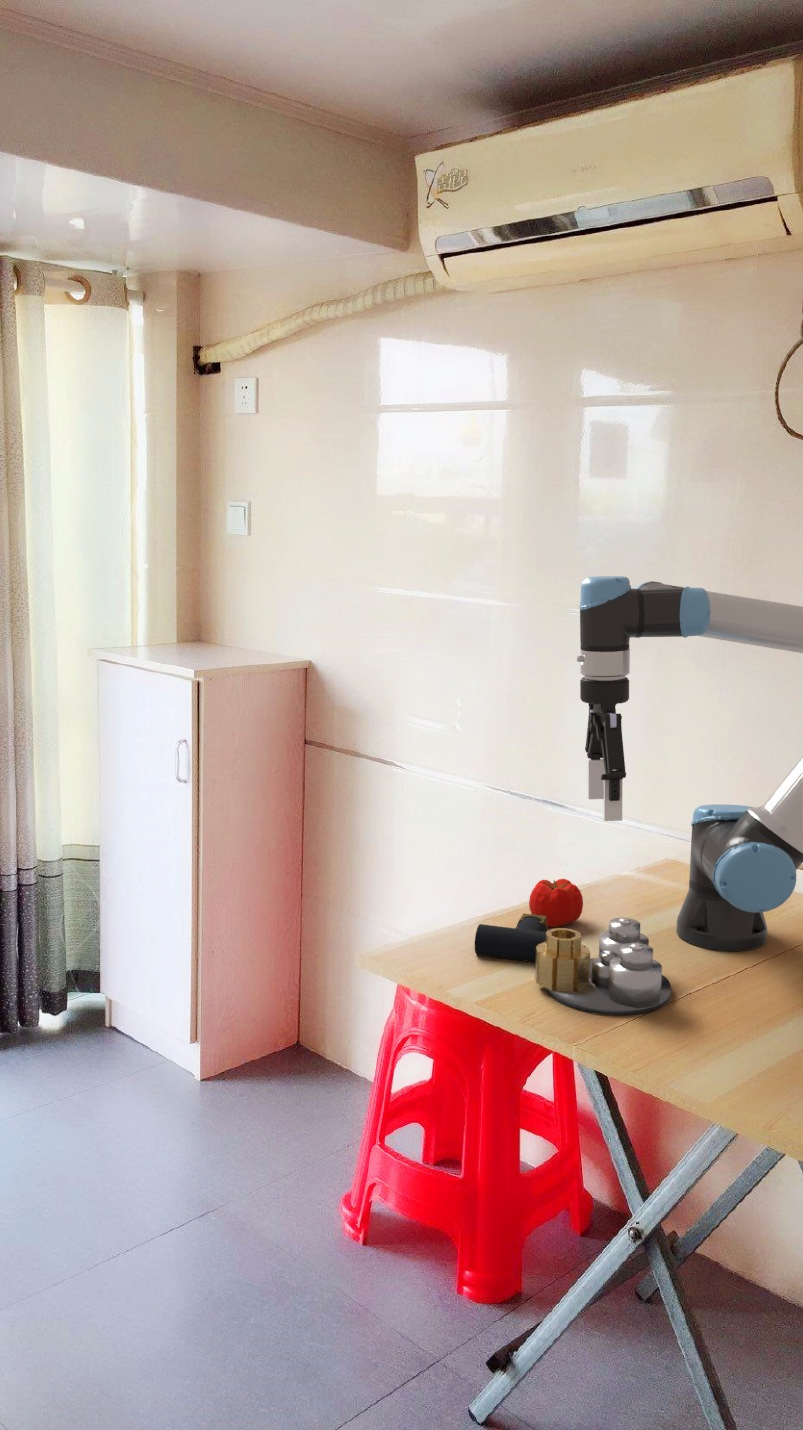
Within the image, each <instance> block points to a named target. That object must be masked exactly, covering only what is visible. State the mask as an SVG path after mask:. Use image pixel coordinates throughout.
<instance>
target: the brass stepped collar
mask: <svg viewBox="0 0 803 1430" xmlns="http://www.w3.org/2000/svg"><path fill="white" fill-rule="evenodd" d="M586 946H587V945H585V944H582V935H581V932H579V930H575V929H572V928H567V927H565V928H564V927H563V928H562V927H555V928H551V929H548V931H547V932H546V942H543V943H541V944H538V946H536V962H535V967H534V969H535V971H534V978H535V982H536V984H538V986H539V987H542V988H545V989H546V988H547V989H549V990H554V989H556V991H571V992H573V989H574V990H577V991H578V990H581V989H583V988H585V987H588V985H589V976H590V958H591V952H590V951H591V950H590V949H589V947H586Z"/></svg>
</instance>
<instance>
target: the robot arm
mask: <svg viewBox="0 0 803 1430" xmlns="http://www.w3.org/2000/svg"><path fill="white" fill-rule="evenodd" d="M630 581H631V580H630V579H629V578H628V577H627V576H624V575H623V576H619V575H618V576H615V575H609V576H606V575H601V576H599V575H598V576H590V577H587V578H585V579H583V581H582V582H581V585H580V586H581V587H580V601H579V603H580V604H579V607H578V608H579V632H580V633H579V635H580V636H579V638H580V639H579V640H580V641H579V643H580V654H581V655H578V656H576V661H577V663H580V674H581V675H582V676H583V677H581V679H579V680H580V681H579V682H580V683H579V685H580V686H579V687H580V688H579V689H580V692H579V693H580V695H579V698H580V700H581V702H583V703H585V704H588V719H587V720H588V721H587V728H586V741H585V747H584V750H585V753H586V756H587V757H586V758H587V799H588V800H603V821H604V822H615V821H616V822H617V821H618V822H619V821H620V822H621V821H622V822H623V779H625V778H626V777H627V772H626V764H625V753H624V751H625V750H624V741H623V730H622V729H623V728H622V719H623V716H622V713H617V709H616V705H617V704H624V703H627V702H628V701H629V700H630V679H629V678H628V677H626V676H627V675H629V674H630V673H631V672H630V669H631V668H630V665H631V663H630V660H631V658H630V655H631V653H630V652H631V649H630V639H631V638H672V637H673V638H674V637H675V638H679V637H680V638H681V637H682V638H685V639H686V638H688V637H696V636H697V637H701V638H709V639H715V640H720V641H726V642H734V643H739V644H745V645H750V646H757V647H763V648H768V649H769V648H770V649H775V650H781V651H788V652H791V653H792V652H793V653H798V654H803V606H802V605H795V604H790V603H783V602H777V601H770V600H764V599H759V598H752V597H746V596H739V595H734V594H727V593H721V592H716V591H711V590H710V591H709V590H706V589H704V588H702V587H690V586H685V587H684V586H679V585H678V586H677V585H672V584H671V585H670V584H665V583H663V582H660V581H659V582H658V581H648V582H643V583H641V584H639V585H638V586H636V587H635V588H632V585H630V584H631V583H630ZM690 824H691V839H690V840H691V842H690V859H689V860H690V861H689V880H688V881H689V883H688V890H687V893H686V895H685V898H684V901H683V903H682V906H681V907H680V911H679V913H678V915H677V919H676V928H675V929H676V930H675V932H676V934H677V936H678V937H679V938H681V939H682V940H684V941H685V942H687V943H689V944H691V945H694V946H697V947H701V948H705V949H709V950H710V949H711V950H716V951H726V952H738V951H739V952H742V951H751V950H755V949H758V948H761V947H763V946H764V945H765V944H766V943H767V941H768V940H767V939H768V925H767V922H766V918H765V915H764V912H766V913H767V912H770V911H772V910H775V909H778V908H779V907H780V906H782V905H783V904H784V903H786V902H787V900H789V898H790V897H791V896H792V894H793V892H794V890H795V888H796V884H797V871H798V869H799V868H800V867H801V865H802V864H803V755H802V757H801V758H800V759H799V760H798V761H797V763H796V764H795V765H794V766H793V767H792V768H791V770H790V771H789V772H788V774H787V775H786V776H785V778H784V779H783V780H782V781H781V783H780V784H779V785H778V786H777V787H776V788H775V790H774V791H773V793H772V794H771V795H770V796H769V797H768V798H767V800H766V801H765V803H764V804H763V805H760V806H754V807H753V806H748V805H741V804H740V805H738V804H718V803H717V804H704V805H700V806H697V807H696V808H695V809H694V810H693V813H692V820H691V823H690ZM764 943H765V944H764ZM763 944H764V945H763ZM762 945H763V946H762Z"/></svg>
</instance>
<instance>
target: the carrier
mask: <svg viewBox="0 0 803 1430" xmlns="http://www.w3.org/2000/svg"><path fill="white" fill-rule="evenodd" d="M608 924H609V925H608V930H607V931H603V932H601V933H600V934H599V943H598V944H599V947H598V957H596V958H595V957H594V958H593V957H590V976H589V985H588V987H585V988H583V989H581V990H578V991H577V990H574V989H573V992H571V991H556V989H554V990H549V989H547V988H545V990H546V992H547V994H548V995H549V996H550V997H551V998H552V999H554V1000H555V1001H556V1002H558V1003H560V1004H562V1005H563V1006H566V1007H568V1006H569V1008H571V1007H572V1009H574V1008H575V1009H574V1010H577V1011H581V1010H582V1011H581V1012H584V1011H585V1012H584V1013H590V1014H595V1015H603V1016H604V1015H605V1016H618V1017H619V1016H634V1015H635V1016H636V1015H642V1014H648V1013H651V1012H654V1011H657V1010H659V1009H661V1008H663V1007H665V1006H666V1005H667V1004H668V1003H669V1002H670V1000H671V996H672V984H671V982H670V980H669V979H668V978H667V977H666V976H665V975H663V974H662V973H663V966H662V964H661V963H660V962H659V961H657V960H656V959H654V949H653V947H651V946H650V944H649V943H650V939H649V937H648V936H647V935H645V934H643V933H641V923H640V921H638V920H637V919H634V918H629V917H615V918H611V919H610V920H609V921H608Z"/></svg>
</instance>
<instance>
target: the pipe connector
mask: <svg viewBox="0 0 803 1430" xmlns="http://www.w3.org/2000/svg"><path fill="white" fill-rule="evenodd" d="M518 919H519V920H518V922H517V924H516V927H515V928H513V927H507V926H498V925H492V924H491V925H489V924H482V923H479V924H478V926H477V929H476V931H475V936H474V953H475V954H476V955H479V956H486V957H487V956H488V957H494V958H499V959H508V960H517V961H522V962H524V961H525V962H532V963H536V946H538V944H541V943H543V942H546V932H547V931H548V930H549V926H547V924H546V923H547V916H541V915H539V916H538V915H535V914H531V913H525V912H524V913H522V914H521V917H520V918H518Z"/></svg>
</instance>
